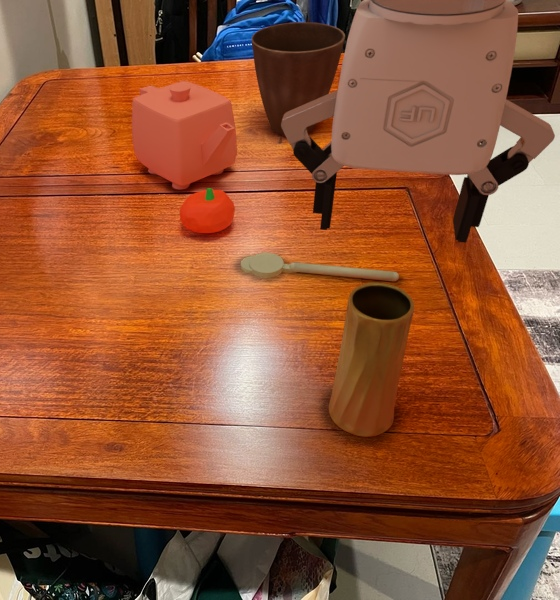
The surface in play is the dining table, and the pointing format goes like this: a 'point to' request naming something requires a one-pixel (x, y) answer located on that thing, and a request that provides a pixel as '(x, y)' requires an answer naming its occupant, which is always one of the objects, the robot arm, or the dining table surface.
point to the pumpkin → (207, 211)
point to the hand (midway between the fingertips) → (390, 226)
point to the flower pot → (295, 66)
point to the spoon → (307, 268)
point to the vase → (371, 359)
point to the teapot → (183, 132)
